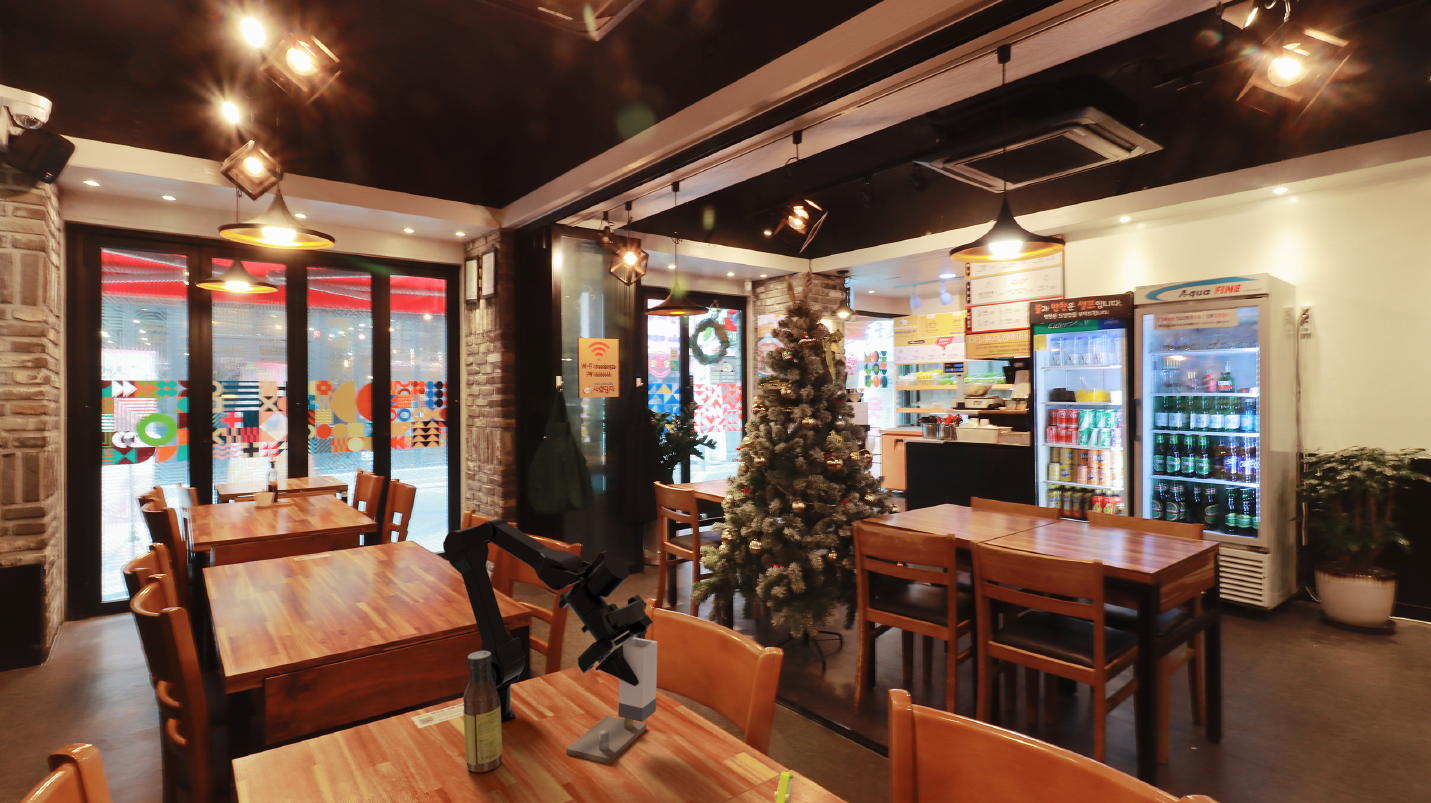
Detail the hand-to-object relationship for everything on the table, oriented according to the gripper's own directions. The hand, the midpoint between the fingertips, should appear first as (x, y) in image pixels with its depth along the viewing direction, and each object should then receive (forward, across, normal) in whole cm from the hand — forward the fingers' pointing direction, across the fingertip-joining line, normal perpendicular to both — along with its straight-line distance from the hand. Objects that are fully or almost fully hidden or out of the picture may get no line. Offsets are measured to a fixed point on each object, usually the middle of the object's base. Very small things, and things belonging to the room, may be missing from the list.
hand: (644, 678), depth 127 cm
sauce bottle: (-7, -16, +27) cm, 32 cm away
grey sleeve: (+4, 0, +6) cm, 7 cm away
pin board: (+4, 0, +15) cm, 16 cm away
